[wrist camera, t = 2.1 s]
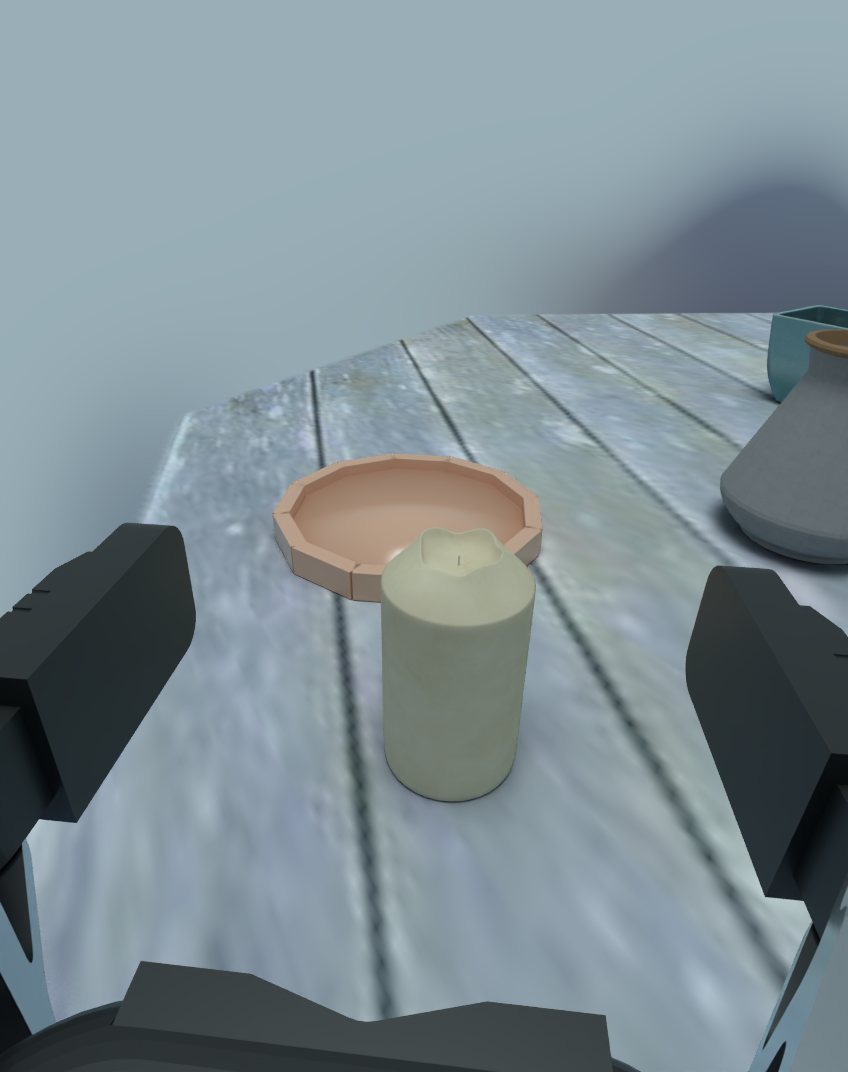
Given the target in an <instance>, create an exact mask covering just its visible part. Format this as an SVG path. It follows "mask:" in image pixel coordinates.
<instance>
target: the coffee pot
mask: <svg viewBox="0 0 848 1072" xmlns="http://www.w3.org/2000/svg"><path fill="white" fill-rule="evenodd" d="M805 342H806V344H807V345H809V346H810V354H809V368H808V371H807V372H806V374H805V375H804V376H803V377H802V378H801V380H800V381H799V382H798V383H797V384H796V386H795V387H794V388H793V389H792V390H791V392H790V393H789V394H788V395H787V397H786V398H785V399H784V400H783V401H782V403H781V404H780V405H779V406H778V407H777V409H776V410H775V411H774V412H773V413H772V415H771V416H770V417H769V418H768V420H767V421H766V422H765V423H764V424H763V426H762V427H761V428H760V429H759V430H758V432H757V433H756V434H755V435H754V437H753V438H752V439H751V440H750V441H749V443H748V444H747V445H746V446H745V447H744V449H743V450H742V451H741V452H740V453H739V455H738V456H737V457H736V458H735V460H734V461H733V462H732V463H731V464H730V466H729V467H728V468H727V469H726V470H725V472H724V473H723V474H722V476H721V483H720V490H721V495H722V499H723V502H724V504H725V506H726V507H727V509H728V511H729V512H730V514H731V515H732V516H733V518H734V519H735V521H736V522H738V523H739V524H740V527H741V529H742V530H743V532H744V533H745V534H746V535H747V536H748V537H749V538H750V539H752V540H753V541H754V542H756V543H758V544H759V545H761V546H763V547H764V548H766V549H769V550H771V551H774V552H776V553H778V554H781V555H784V556H787V557H791V558H794V559H797V560H802V561H807V562H813V563H821V564H846V563H848V330H817V331H813V332H809V333H808V334H807V335H806V336H805Z"/></svg>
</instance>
